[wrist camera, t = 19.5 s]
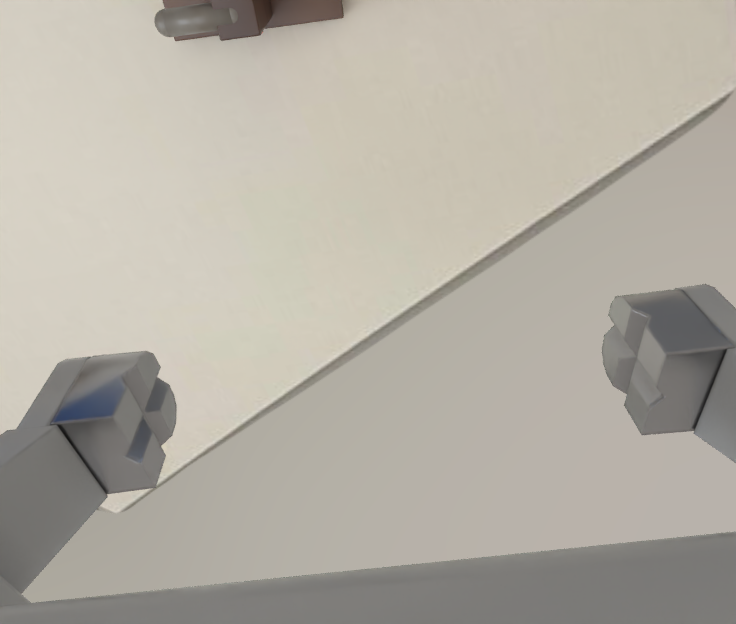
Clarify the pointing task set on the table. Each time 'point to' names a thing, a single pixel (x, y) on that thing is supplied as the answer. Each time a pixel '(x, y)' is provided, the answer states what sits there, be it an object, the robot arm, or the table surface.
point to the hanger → (239, 16)
